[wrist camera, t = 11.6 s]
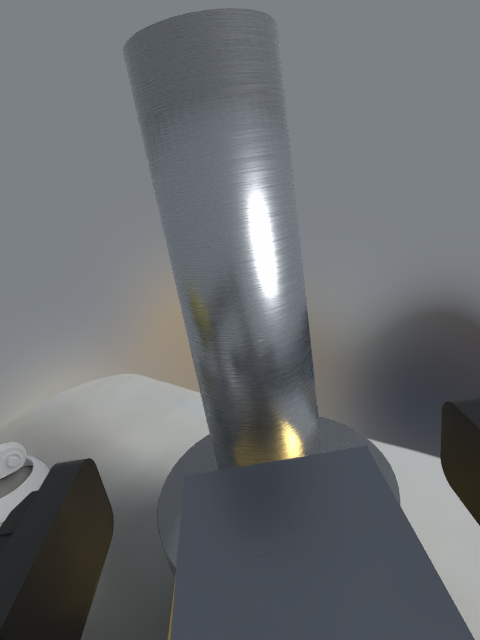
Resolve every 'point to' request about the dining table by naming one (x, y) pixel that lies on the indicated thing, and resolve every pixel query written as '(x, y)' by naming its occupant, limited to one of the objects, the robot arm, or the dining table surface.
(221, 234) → the flanged pole stand
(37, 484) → the white vr controller
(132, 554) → the dining table surface
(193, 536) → the grey square peg
